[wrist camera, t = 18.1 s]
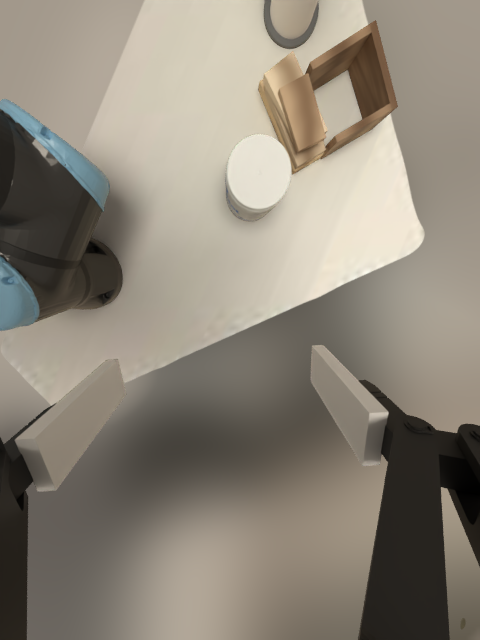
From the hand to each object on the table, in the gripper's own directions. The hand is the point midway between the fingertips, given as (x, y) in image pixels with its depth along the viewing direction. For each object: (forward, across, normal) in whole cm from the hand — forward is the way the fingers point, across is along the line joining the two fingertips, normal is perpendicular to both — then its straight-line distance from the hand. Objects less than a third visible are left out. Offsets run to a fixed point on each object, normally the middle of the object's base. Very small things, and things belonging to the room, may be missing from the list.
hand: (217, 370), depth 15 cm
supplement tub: (+37, +6, +18) cm, 41 cm away
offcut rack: (+37, +19, +32) cm, 52 cm away
